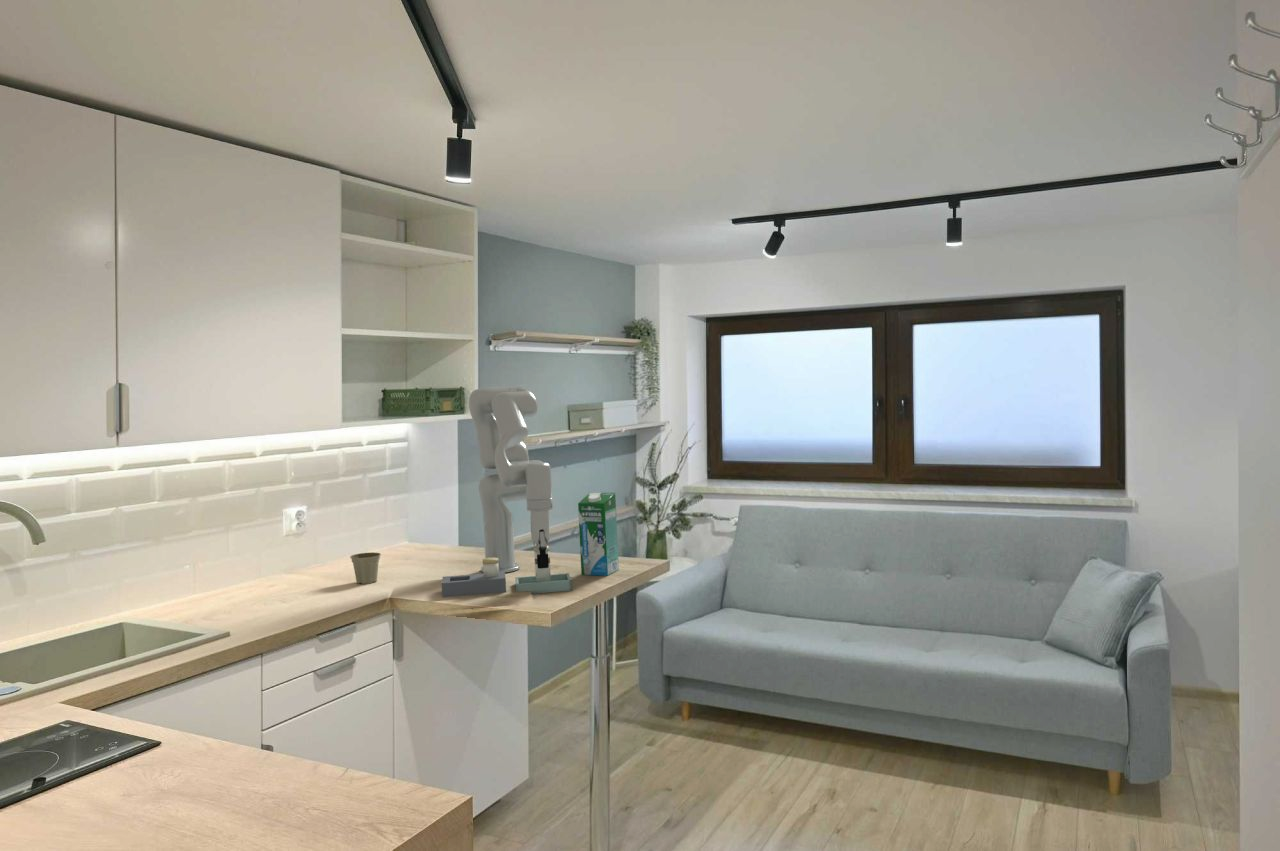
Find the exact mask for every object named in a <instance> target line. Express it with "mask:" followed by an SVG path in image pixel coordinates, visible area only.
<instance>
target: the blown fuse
mask: <svg viewBox="0 0 1280 851" xmlns="http://www.w3.org/2000/svg"><path fill="white" fill-rule="evenodd" d="M540 547H541V546H539V548H540ZM533 552H534V571H535V574H534V575H535V576H536V581H537V582H547V581H550V580H551V575H552V573H551V555H550V545H548V544H547V554H548V562H549V567H548V568H538V565H537V555H538V547H537V546H536V545H534V546H533Z"/></svg>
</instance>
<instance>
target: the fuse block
mask: <svg viewBox="0 0 1280 851" xmlns="http://www.w3.org/2000/svg"><path fill="white" fill-rule="evenodd" d="M498 562H499V559H498V558H485V557H484V558H483V559H482V566H483V572H482V573H476V574H475V573H474V574H473V573H472V574H461V575H450V576H442V580H441V596H442V598H450V597H453V598H454V597H463V596H464V597H465V596H474V595H475V596H477V595H487V594H489V595H490V594H500V593H501V594H502V593H507V582H506V580H507V579H506V573H505V572H499V566H498Z"/></svg>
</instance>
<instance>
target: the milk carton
mask: <svg viewBox="0 0 1280 851" xmlns="http://www.w3.org/2000/svg"><path fill="white" fill-rule="evenodd" d="M616 499H617V498H616V492H589V493H588V494H587V495H585V497H583V498H582V499H581V500H580V501H578V503H577V505H578V507H577V508H578V510H577V511H578V526H579V527H578V528H579V532H578V533H579V547H580V552H579V553H580V571H581V572H580V573H581V574H580V575H582V576H604V577H608V576H609V575H612V574H613V573H615V572H617V571H619V549H618V547H619V546H618V524H617V506H616V505H617V504H616Z"/></svg>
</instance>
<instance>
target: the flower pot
mask: <svg viewBox="0 0 1280 851" xmlns="http://www.w3.org/2000/svg"><path fill="white" fill-rule="evenodd" d="M381 555H382V554H381V553H380V552H361V553H355V554H351V555H350V556H349V558H350V559H351V562H352V564H353V569H354V570H353V571H354V575H355V580H356V583H357V584H363V585H367V584H372V583H376V582H377V581H378V571H379V563H380V562H379V561H380V559H381Z"/></svg>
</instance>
